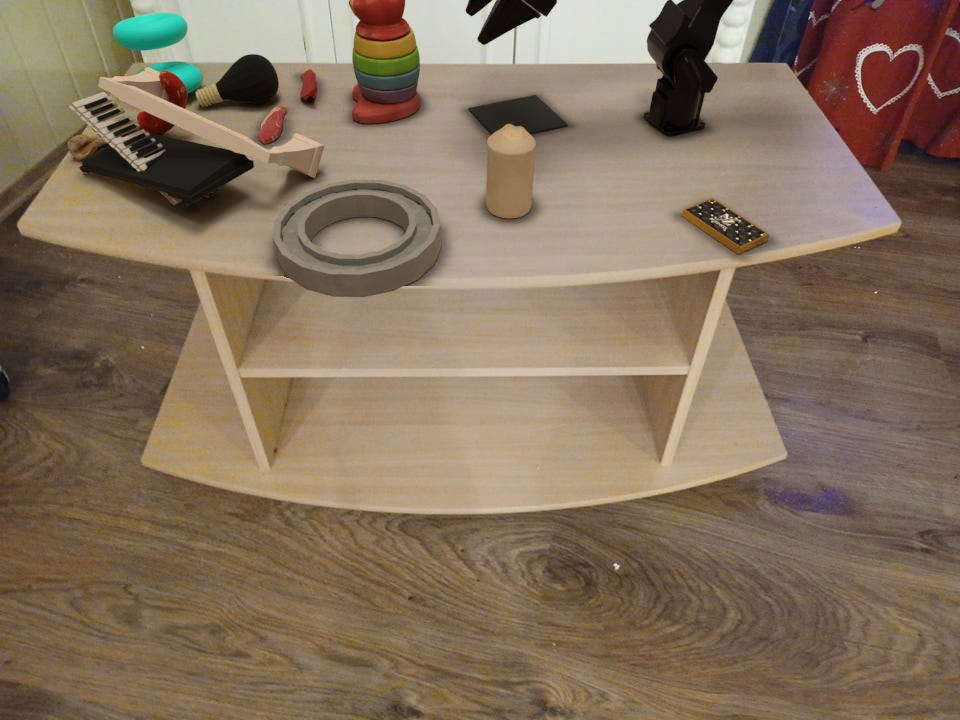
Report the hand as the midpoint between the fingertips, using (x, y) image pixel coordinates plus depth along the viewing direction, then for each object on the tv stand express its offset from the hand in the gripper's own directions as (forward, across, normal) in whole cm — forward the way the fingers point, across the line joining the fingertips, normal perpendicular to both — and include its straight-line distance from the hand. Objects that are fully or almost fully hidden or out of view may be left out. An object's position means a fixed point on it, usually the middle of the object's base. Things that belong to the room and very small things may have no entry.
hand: (474, 27), depth 90 cm
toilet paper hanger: (+28, +5, -22) cm, 36 cm away
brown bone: (+39, -9, -31) cm, 51 cm away
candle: (+11, +18, +10) cm, 23 cm away
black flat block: (-2, +27, +27) cm, 38 cm away
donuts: (+30, -22, -25) cm, 45 cm away
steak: (+26, -7, -12) cm, 30 cm away
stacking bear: (+18, -11, 0) cm, 22 cm away
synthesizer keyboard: (+28, +7, -28) cm, 40 cm away
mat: (+8, -5, +14) cm, 17 cm away
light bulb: (+31, -16, -17) cm, 39 cm away
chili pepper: (+24, -17, -11) cm, 31 cm away
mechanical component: (+22, +23, -5) cm, 32 cm away
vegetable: (+38, -7, -28) cm, 47 cm away
